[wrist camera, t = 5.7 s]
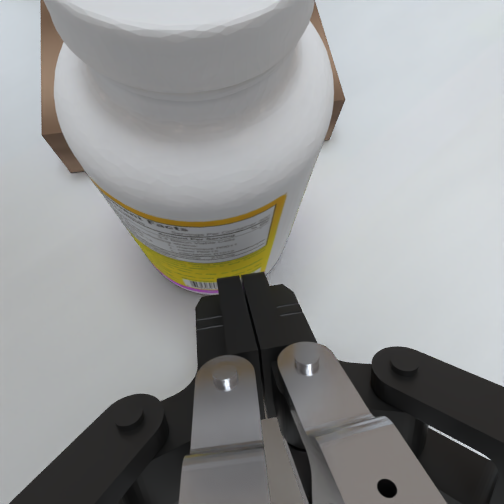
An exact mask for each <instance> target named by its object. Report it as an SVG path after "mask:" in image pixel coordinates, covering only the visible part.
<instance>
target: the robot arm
mask: <svg viewBox="0 0 504 504" xmlns="http://www.w3.org/2000/svg"><path fill="white" fill-rule="evenodd" d="M241 283H242V284H241ZM217 286H218V293H219V294H217V295H211V296H205V297H202V298H201V299H200V301H199V303H198V304H197V306H196V330H197V331H196V333H197V358H198V370H197V373H196V376H195V378H194V379H193V381H192V382H191V383H190V384H189V385H188V386H187V387H186V388H185V389H184V390H182V391H181V392H179V393H177V394H175V395H174V396H171V397H169V398H167V399H165V400H163V401H159V400H158V399H157V398H156V397H154V396H152V395H148V394H134V395H130V396H127V397H124V398H122V399H120V400H118V401H116V402H115V403H113V404H112V405H111V406H110V407H109V408H107V409H106V410H105V411H104V412H103V413H102V414H101V415H100V416H99V417H98V418H97V419H96V420H95V421H94V422H93V423H92V424H91V425H90V426H89V427H88V428H87V429H86V430H85V431H84V432H83V433H81V434H80V435H79V436H78V437H77V438H76V439H75V440H74V441H73V442H72V443H71V444H70V445H69V446H68V447H67V448H66V449H65V450H64V451H63V452H62V453H61V454H60V455H59V456H58V457H57V458H56V459H55V460H54V461H53V462H51V463H50V464H49V465H48V466H47V467H46V468H45V469H44V470H43V471H42V472H41V473H40V474H39V475H38V476H37V477H36V478H35V479H34V480H33V481H32V482H31V483H30V484H29V485H28V486H27V487H26V488H25V489H24V490H23V491H22V492H20V493H19V494H18V495H17V496H16V497H15V498H14V499H13V500H12V501H11V502H10V503H9V504H271V503H270V495H269V486H268V478H267V469H266V461H265V452H264V444H263V436H262V428H261V420H262V419H265V411H264V404H265V408H266V412H267V417H268V418H273V417H277V419H278V423H279V427H280V431H281V433H282V435H283V441H284V446H285V449H286V452H287V454H288V457H289V460H290V463H291V466H292V469H293V472H294V475H295V478H296V480H297V483H298V486H299V489H300V492H301V495H302V498H303V501H304V504H504V387H503V386H500V385H498V384H495V383H493V382H491V381H488V380H486V379H483V378H481V377H479V376H476V375H474V374H471V373H469V372H467V371H464V370H462V369H459V368H457V367H455V366H452V365H450V364H448V363H445V362H443V361H440V360H438V359H436V358H433V357H431V356H428V355H426V354H424V353H421V352H419V351H416V350H414V349H410V348H406V347H388V348H385V349H382V350H380V351H379V352H377V353H376V354H375V355H374V357H373V359H372V364H360V363H349V362H343V361H339V360H337V358H336V357H335V355H334V354H333V353H332V351H331V350H330V349H328V348H327V347H325V346H323V345H321V344H318V343H317V341H316V339H315V337H314V335H313V333H312V331H311V329H310V326H309V324H308V322H307V320H306V318H305V316H304V314H303V313H302V309H301V307H300V305H299V304H298V301H297V299H296V297H295V294H294V292H293V291H291V290H290V289H289V288H287V287H286V286H284V285H283V284H281V285H274V286H269V284H268V281H267V278H266V276H265V273H264V272H257V273H250V274H244V275H241V280H240V276H239V275H237V276H230V277H224V278H218V279H217ZM263 399H264V402H263ZM428 425H430V426H432V427H434V428H435V429H437V430H439V431H441V432H443V433H445V434H447V435H449V436H451V437H452V438H454V439H456V440H458V441H460V442H462V443H464V444H466V445H468V446H469V447H471V448H473V449H475V450H477V451H479V452H481V453H482V454H484V455H485V456H487V457H488V458H489V459H490V460H488V459H486V458H484V457H482V456H480V455H478V454H477V453H475V452H473V451H471V450H469V449H467V448H465V447H463V446H462V445H460V444H458V443H456V442H454V441H452V440H450V439H449V438H447V437H445V436H443V435H441V434H439V433H437V432H435V431H434V430H432V429H430V428H428Z"/></svg>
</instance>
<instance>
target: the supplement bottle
mask: <svg viewBox="0 0 504 504" xmlns="http://www.w3.org/2000/svg"><path fill="white" fill-rule="evenodd" d="M44 3H45V5H46V7H47V9H48V11H49V13H50V15H51V18H52V21H53V24H54V26H55V28H56V30H57V32H58V33H59V35H60V37H61V38H62V40H63V41H64V42H63V45H62V48H61V50H60V53H59V56H58V60H57V64H56V69H55V79H54V100H55V109H56V113H57V117H58V121H59V124H60V127H61V130H62V133H63V135H64V137H65V140H66V142H67V144H68V145H69V147H70V149H71V151H72V152H73V154H74V156H75V157H76V159H77V160H78V161H79V163H80V164H81V166H82V168H83V169H84V170H85V172H86V173H87V175H88V176H89V177H90V179H91V180H92V182H93V183H94V184H95V186H96V187H97V188H98V189H99V191H100V192H101V193H102V195H103V196H104V198H105V199H106V200H107V202H108V203H109V204H110V206H111V207H112V209H113V210H114V211H115V213H116V214H117V216H118V217H119V218H120V220H121V221H122V223H123V224H124V225H125V227H126V228H127V230H128V231H129V232H130V234H131V235H132V237H133V238H134V239H135V241H136V242H137V244H138V245H139V246H140V248H141V249H142V251H143V252H144V253H145V255H146V256H147V257H148V259H149V260H150V261H151V263H152V264H153V265H154V267H155V268H156V269H157V270H158V271H159V272H160V273H161V274H162V275H163V276H164V277H165V278H167V279H168V280H170V281H171V282H172V283H174V284H176V285H178V286H179V287H181V288H184V289H186V290H189V291H192V292H196V293H200V294H208V295H217V294H219V293H218V286H217V279H218V278H224V277H230V276H237V275H239V276H240V280H241V275H244V274H250V273H257V272H264V273H265V275H266V274H267V273H268V272H269V271H270V270H271V269H272V268H273V266H274V265H275V264H276V262H277V261H278V259H279V257H280V255H281V254H282V251H283V249H284V247H285V244H286V242H287V239H288V237H289V234H290V231H291V229H292V226H293V223H294V220H295V217H296V214H297V212H298V209H299V206H300V203H301V201H302V198H303V195H304V193H305V190H306V187H307V184H308V182H309V179H310V176H311V174H312V171H313V168H314V165H315V163H316V160H317V158H318V155H319V152H320V150H321V147H322V144H323V142H324V139H325V136H326V134H327V131H328V128H329V124H330V120H331V116H332V110H333V102H334V83H333V74H332V69H331V64H330V60H329V57H328V54H327V51H326V48H325V46H324V44H323V41H322V39H321V38H320V36H319V34H318V32H317V31H316V29H315V27H314V26H313V24H312V23H311V21H310V18H311V15H312V12H313V9H314V3H315V0H44ZM241 284H242V283H241Z"/></svg>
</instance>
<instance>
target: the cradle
mask: <svg viewBox="0 0 504 504" xmlns="http://www.w3.org/2000/svg"><path fill="white" fill-rule="evenodd" d="M310 21H311V23H312V24H313V26H314V27H315V29H316V31H317V32H318V34H319V36H320V38H321V39H322V41H323V44H324V46H325V48H326V51H327V54H328V57H329V60H330V64H331V69H332V74H333V83H334V102H333V110H332V116H331V120H330V124H329V128H328V131H327V134H326V136H325V139H324V140H329V139H330V137H331V134H332V132H333V129H334V127H335V124H336V121H337V119H338V116H339V114H340V111H341V109H342V106H343V104H344V101H345V97H344V94H343V91H342V88H341V84H340V81H339V78H338V75H337V71H336V68H335V65H334V62H333V58H332V55H331V52H330V49H329V45H328V42H327V39H326V36H325V32H324V29H323V26H322V23H321V19H320V16H319V13H318V10H317V6H316V3H314V9H313V12H312V15H311V18H310ZM63 42H64V41H63V40H62V38H61V37H60V35H59V33H58V32H57V30H56V28H55V26H54V24H53V21H52V18H51V15H50V13H49V11H48V9H47V7H46V5H45V3H44V0H41V117H42V136H43V137H44V139H45V140H46V141H47V143H48V144H49V145H50V146H51V148H52V149H53V150H54V152H55V153H56V154H57V155H58V157H59V158H60V159H61V161H62V162H63V163H64V164H65V166H66V167H67V168H68V170H69V171H70V172H71V173H73V172H81V171H85V170H84V169H83V168H82V166H81V164H80V163H79V161H78V160H77V159H76V157H75V156H74V154H73V152H72V151H71V149H70V147H69V145H68V144H67V142H66V140H65V137H64V135H63V133H62V130H61V127H60V124H59V121H58V117H57V113H56V109H55V100H54V79H55V69H56V64H57V60H58V56H59V53H60V50H61V48H62V45H63Z"/></svg>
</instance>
